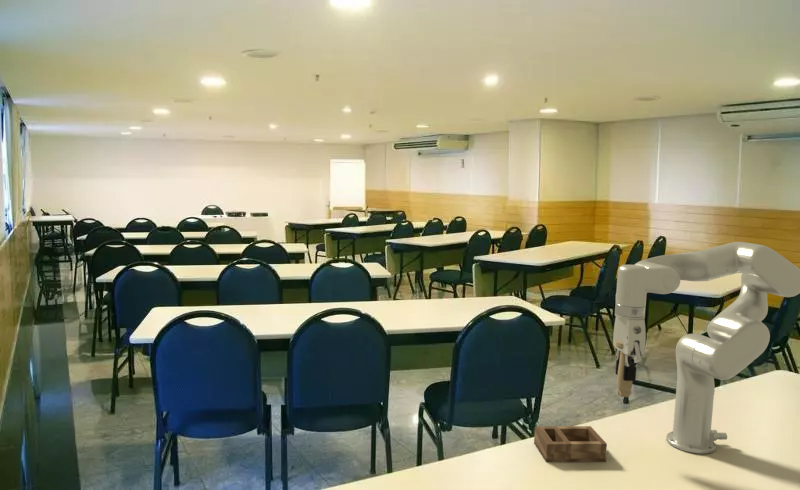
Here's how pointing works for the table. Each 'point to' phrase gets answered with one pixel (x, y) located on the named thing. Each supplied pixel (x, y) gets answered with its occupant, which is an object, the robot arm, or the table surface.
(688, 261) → the robot arm
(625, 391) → the handle
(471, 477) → the table surface
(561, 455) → the socket block
